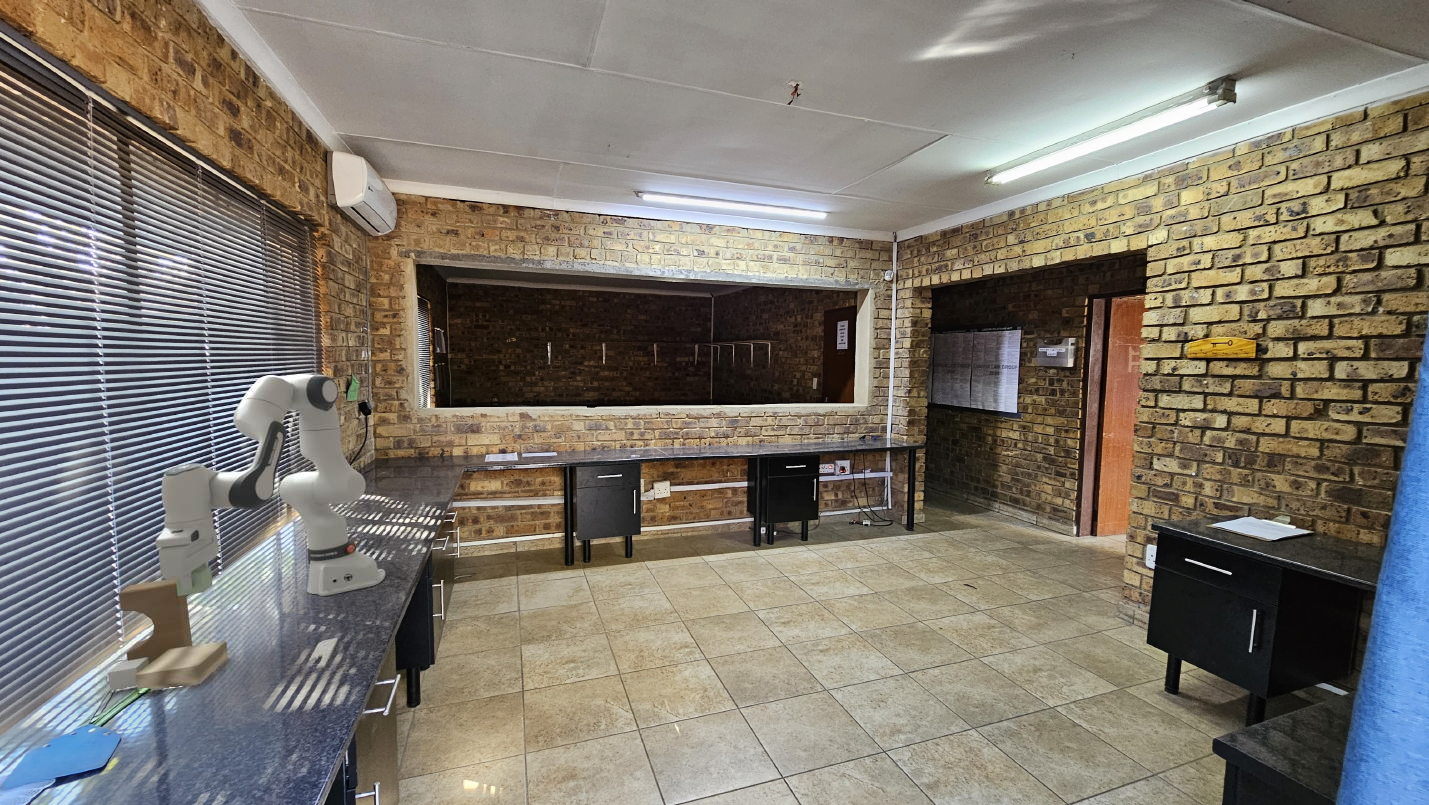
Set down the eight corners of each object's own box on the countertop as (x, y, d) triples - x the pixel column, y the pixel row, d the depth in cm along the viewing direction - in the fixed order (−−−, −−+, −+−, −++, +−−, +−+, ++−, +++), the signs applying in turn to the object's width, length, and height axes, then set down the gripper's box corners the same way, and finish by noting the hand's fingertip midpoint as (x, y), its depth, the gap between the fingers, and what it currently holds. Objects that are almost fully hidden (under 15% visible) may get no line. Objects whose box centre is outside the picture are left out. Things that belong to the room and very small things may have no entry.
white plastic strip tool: (300, 673, 139) (299, 669, 139) (316, 645, 153) (316, 641, 153) (324, 668, 141) (324, 664, 141) (338, 640, 155) (338, 637, 154)
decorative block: (127, 670, 142) (117, 593, 140) (138, 660, 147) (128, 584, 145) (185, 659, 147) (176, 583, 145) (193, 649, 152) (185, 576, 150)
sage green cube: (212, 585, 146) (210, 566, 146) (203, 592, 142) (201, 572, 141) (187, 588, 145) (186, 569, 144) (177, 596, 140) (175, 576, 140)
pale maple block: (228, 659, 146) (226, 641, 146) (200, 685, 135) (198, 665, 134) (171, 668, 143) (169, 649, 143) (138, 695, 132) (135, 675, 131)
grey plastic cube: (150, 676, 139) (147, 657, 138) (138, 687, 134) (136, 667, 134) (123, 681, 137) (120, 662, 137) (110, 693, 132) (108, 672, 132)
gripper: (194, 521, 151) (199, 572, 152) (150, 543, 132) (156, 601, 132) (224, 518, 153) (228, 569, 154) (185, 539, 134) (190, 596, 135)
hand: (194, 584), depth 143 cm, fingers closed on sage green cube, 5 cm apart
